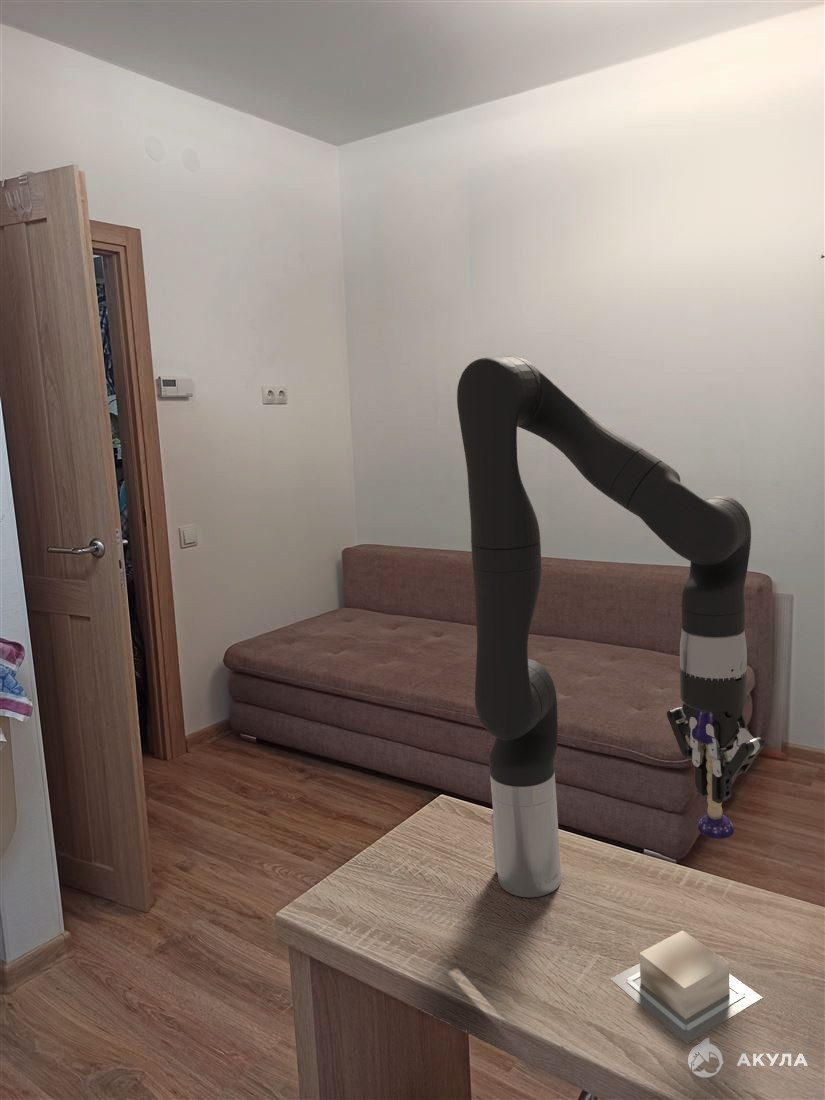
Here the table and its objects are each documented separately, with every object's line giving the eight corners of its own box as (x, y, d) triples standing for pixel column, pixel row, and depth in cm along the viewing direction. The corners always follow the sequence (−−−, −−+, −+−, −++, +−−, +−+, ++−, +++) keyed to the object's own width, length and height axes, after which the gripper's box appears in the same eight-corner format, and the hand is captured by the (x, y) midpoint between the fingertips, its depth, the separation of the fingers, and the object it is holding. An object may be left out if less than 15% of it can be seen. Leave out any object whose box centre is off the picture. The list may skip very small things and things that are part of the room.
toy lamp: (737, 842, 100) (734, 712, 97) (697, 841, 101) (693, 713, 98) (730, 821, 104) (727, 697, 101) (692, 821, 105) (688, 698, 102)
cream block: (640, 982, 97) (639, 953, 97) (683, 959, 101) (682, 930, 100) (685, 1019, 91) (684, 988, 90) (729, 993, 94) (729, 963, 94)
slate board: (610, 986, 99) (610, 978, 98) (682, 946, 104) (682, 939, 104) (686, 1052, 88) (686, 1043, 88) (762, 1005, 94) (762, 996, 93)
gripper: (647, 656, 102) (650, 784, 106) (738, 689, 90) (737, 831, 94) (691, 643, 106) (692, 767, 109) (783, 673, 94) (781, 810, 97)
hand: (713, 796), depth 102 cm, fingers closed on toy lamp
